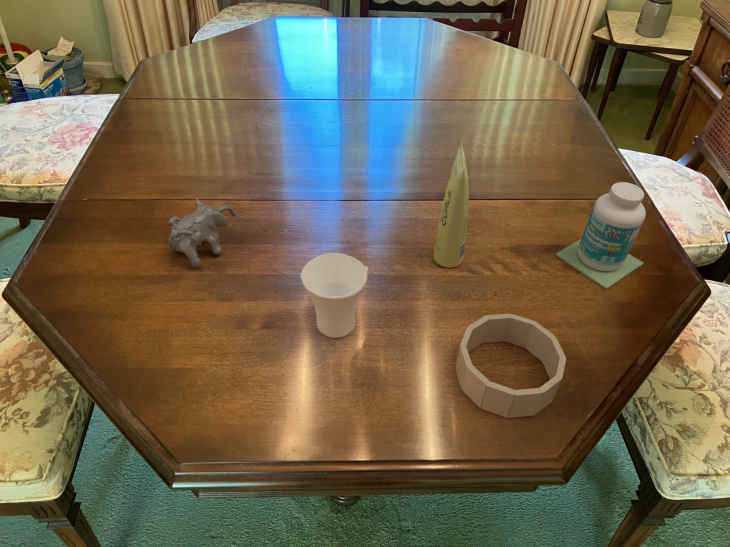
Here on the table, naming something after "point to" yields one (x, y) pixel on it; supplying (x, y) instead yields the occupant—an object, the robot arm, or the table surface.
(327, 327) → the cup
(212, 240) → the elephant statuette
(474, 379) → the polygonal ring band
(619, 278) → the mat
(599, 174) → the table surface
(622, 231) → the pill bottle
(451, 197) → the tube
